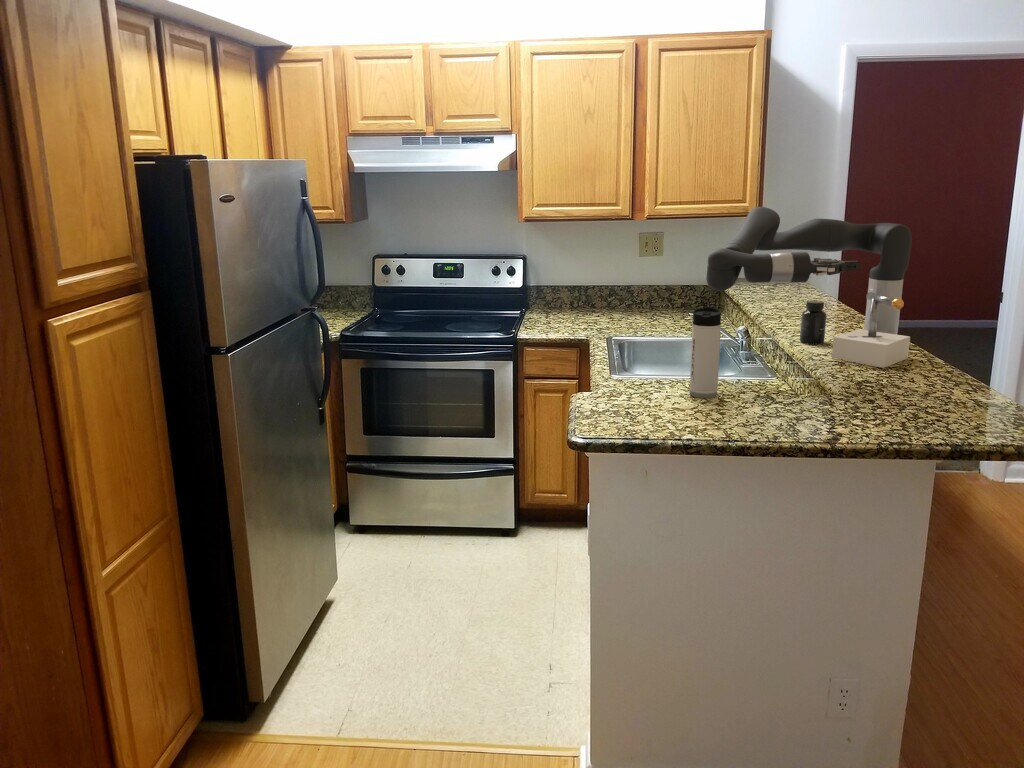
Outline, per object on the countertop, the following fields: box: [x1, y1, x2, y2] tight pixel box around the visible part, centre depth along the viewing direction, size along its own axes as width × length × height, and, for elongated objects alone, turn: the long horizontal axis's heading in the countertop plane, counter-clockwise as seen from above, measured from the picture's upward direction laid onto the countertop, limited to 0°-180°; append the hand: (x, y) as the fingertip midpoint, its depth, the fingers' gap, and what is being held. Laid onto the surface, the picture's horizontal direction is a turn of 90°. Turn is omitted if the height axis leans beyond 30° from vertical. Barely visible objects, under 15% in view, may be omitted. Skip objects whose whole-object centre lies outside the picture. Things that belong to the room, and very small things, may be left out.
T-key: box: [865, 292, 905, 336], centre depth 207 cm, size 14×3×12 cm, turn 6°
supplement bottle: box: [799, 300, 828, 345], centre depth 233 cm, size 7×7×12 cm
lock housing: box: [831, 328, 911, 369], centre depth 213 cm, size 14×14×6 cm
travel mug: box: [689, 306, 722, 399], centre depth 182 cm, size 6×7×20 cm
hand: (858, 265), depth 200 cm, fingers closed
